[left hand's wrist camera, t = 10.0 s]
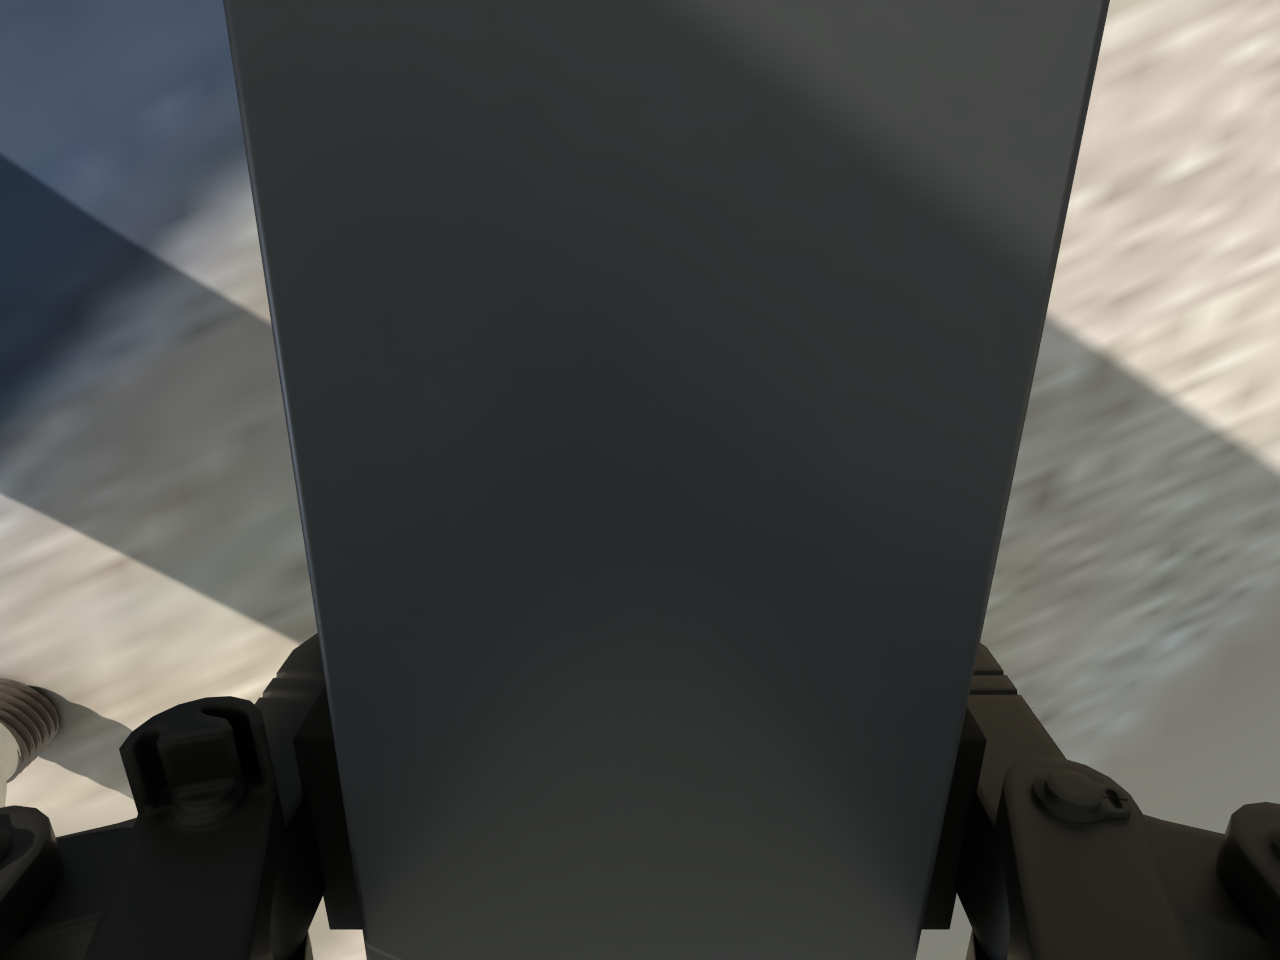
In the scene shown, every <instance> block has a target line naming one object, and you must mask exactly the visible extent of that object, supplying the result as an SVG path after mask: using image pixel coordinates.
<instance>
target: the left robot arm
mask: <svg viewBox="0 0 1280 960" xmlns="http://www.w3.org/2000/svg"><path fill="white" fill-rule="evenodd" d="M119 751H120V754H121V757H122V761H123V764H124V767H125V771H126V774H127V777H128V781H129V784H130V787H131V791H132V794H133V797H134V801H135V804H136V808H137V811H138V816H137V818H134V819H131V820H127V821H124V822H121V823H117V824H113V825H108V826H104V827H100V828H95V829H91V830H87V831H82V832H78V833H74V834H69V835H65V836H61V837H55V834H54V831H53V829H52V826H51V823H50V820H49V818H48V817H47V816H46V815H44V814H43V813H42V812H40V811H39V810H38V809H37V808H31V807H22V806H8V807H2V808H0V960H313V954H312V948H311V942H310V937H309V933H308V929H309V927H310V924H311V922H312V920H313V917H314V915H315V913H316V910H317V908H318V906H319V903H320V901H321V899H322V897H324V902H325V907H326V912H327V917H328V922H329V927H330V929H362V923H361V916H360V909H359V903H358V896H357V889H356V883H355V876H354V869H353V863H352V856H351V849H350V843H349V836H348V829H347V823H346V816H345V809H344V803H343V796H342V789H341V783H340V776H339V769H338V763H337V756H336V749H335V743H334V736H333V729H332V723H331V716H330V709H329V703H328V696H327V690H326V683H325V676H324V670H323V663H322V656H321V650H320V643H319V636H318V633H317V634H315V635H314V636H313V637H311V638H310V639H308V640H307V641H305V642H304V643H303V644H301V645H300V646H298V647H297V648H296V649H294V650H293V651H292V652H291V654H290V655H289V657H288V658H287V660H286V661H285V662H284V664H283V665H282V667H281V668H280V669H279V671H278V672H277V677H276V678H273V679H272V681H271V682H270V683H269V685H268V686H267V688H266V689H265V691H264V692H263V697H262V698H259V699H258V700H257V702H256V703H255V705H254V704H253V703H252V702H251V701H249V700H245V699H240V698H236V697H231V696H226V697H208V698H202V699H198V700H195V701H191V702H187V703H183V704H179V705H177V706H175V707H172V708H170V709H168V710H166V711H164V712H162V713H159V714H157V715H155V716H153V717H152V718H150V719H149V720H148V721H146V722H145V723H143V724H142V725H141V726H139V727H138V728H137V729H135V730H134V731H133V732H132V733H131V734H130V735H129V737H128V738H127V739H126V741H125V742H124V743H123V745H122V746H121V747H120V748H119ZM956 894H958V896H959V898H960V901H961V903H962V905H963V908H964V910H965V912H966V914H967V917H968V919H969V921H970V924H971V926H972V933H971V937H970V942H969V947H968V951H967V956H966V960H1280V804H1275V803H1269V802H1263V803H1255V804H1247V805H1243V806H1242V807H1241V808H1239V809H1238V810H1237V811H1236V812H1234V813H1233V814H1232V815H1231V818H1230V821H1229V824H1228V827H1227V829H1226V832H1225V834H1221V833H1217V832H1212V831H1208V830H1203V829H1199V828H1195V827H1190V826H1186V825H1182V824H1177V823H1173V822H1168V821H1164V820H1160V819H1157V818H1154V817H1150V816H1147V815H1143V814H1142V812H1141V811H1140V809H1139V807H1138V806H1137V804H1136V803H1135V801H1134V800H1133V798H1132V797H1131V795H1130V794H1129V793H1128V792H1126V791H1125V790H1124V789H1123V788H1122V787H1121V786H1119V785H1118V784H1117V783H1116V782H1115V781H1113V780H1112V779H1111V778H1109V777H1108V776H1106V775H1104V774H1102V773H1100V772H1098V771H1096V770H1094V769H1092V768H1090V767H1088V766H1086V765H1084V764H1080V763H1077V762H1073V761H1070V760H1067V759H1066V758H1065V756H1064V755H1063V754H1062V752H1061V751H1060V749H1059V748H1058V747H1057V745H1056V744H1055V742H1054V741H1053V740H1052V738H1051V737H1050V735H1049V734H1048V733H1047V731H1046V730H1045V728H1044V727H1043V726H1042V724H1041V723H1040V721H1039V720H1038V719H1037V717H1036V716H1035V714H1034V713H1033V712H1032V710H1031V709H1030V707H1029V706H1028V705H1027V703H1026V702H1025V700H1024V699H1023V698H1022V696H1021V695H1018V694H1017V689H1016V688H1015V686H1014V685H1013V684H1012V682H1011V681H1010V679H1009V678H1008V677H1007V675H1004V674H1003V670H1002V668H1001V667H1000V665H999V664H998V663H997V661H996V660H995V658H994V657H993V656H992V654H991V653H990V651H989V650H988V649H987V647H985V646H984V645H982V644H981V643H979V648H978V653H977V658H976V663H975V668H974V673H973V678H972V683H971V688H970V693H969V698H968V703H967V707H966V712H965V717H964V722H963V727H962V732H961V737H960V742H959V747H958V752H957V757H956V762H955V767H954V772H953V777H952V782H951V786H950V791H949V796H948V801H947V806H946V811H945V816H944V821H943V826H942V831H941V836H940V841H939V846H938V851H937V856H936V861H935V865H934V870H933V875H932V880H931V885H930V890H929V895H928V900H927V905H926V910H925V915H924V920H923V925H922V929H950V924H951V919H952V914H953V909H954V904H955V899H956Z"/></svg>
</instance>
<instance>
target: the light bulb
mask: <svg viewBox="0 0 1280 960" xmlns="http://www.w3.org/2000/svg"><path fill="white" fill-rule="evenodd" d="M58 729H59V718H58V714H57V712H56V710H55V708H54V707H53V705H52V704H51V703H50V702H49V701H48V700H47V699H46V698H45V697H44V696H43V695H42V694H40V693H39V692H37V691H36V690H35V689H33V688H31V687H29V686H27V685H25V684H22V683H20V682H16V681H13V680H9V679H3V678H0V808H2V807H5V800H6V791H7V784H6V783H8V782H10V781H12V780H13V779H15V777H16V776H17V775H18V774H20V773H21V772H22V771H23V770H24V769H25V768H26V767H27V766H28V765H29V764H30V763H31V762H32V761H33V760H35V759H36V757H37V756H38V755H40V754H41V753H42V752H43V751H44V750H45V749H46V748H47V747H48V746H49V745H50V744H51V743H52V741H53V739H54V737H55V735H56V734H57V732H58Z"/></svg>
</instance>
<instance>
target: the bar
mask: <svg viewBox="0 0 1280 960" xmlns="http://www.w3.org/2000/svg"><path fill="white" fill-rule="evenodd" d="M1109 2H1110V0H223V3H224V10H225V16H226V23H227V30H228V36H229V43H230V50H231V56H232V63H233V70H234V76H235V83H236V90H237V96H238V103H239V110H240V116H241V123H242V130H243V136H244V143H245V150H246V156H247V163H248V170H249V176H250V183H251V190H252V196H253V203H254V210H255V216H256V223H257V230H258V236H259V243H260V250H261V256H262V263H263V270H264V276H265V283H266V290H267V296H268V303H269V310H270V316H271V323H272V330H273V336H274V343H275V350H276V356H277V363H278V370H279V376H280V383H281V390H282V396H283V403H284V410H285V416H286V423H287V430H288V436H289V443H290V450H291V456H292V463H293V470H294V476H295V483H296V490H297V496H298V503H299V510H300V516H301V523H302V530H303V536H304V543H305V550H306V556H307V563H308V570H309V576H310V583H311V590H312V596H313V603H314V610H315V616H316V623H317V630H318V636H319V643H320V650H321V656H322V663H323V670H324V676H325V683H326V690H327V696H328V703H329V709H330V716H331V723H332V729H333V736H334V743H335V749H336V756H337V763H338V769H339V776H340V783H341V789H342V796H343V803H344V809H345V816H346V823H347V829H348V836H349V843H350V849H351V856H352V863H353V869H354V876H355V883H356V889H357V896H358V903H359V909H360V916H361V923H362V929H363V936H364V943H365V949H366V956H367V960H915V959H916V954H917V949H918V944H919V940H920V935H921V930H922V925H923V920H924V915H925V910H926V905H927V900H928V895H929V890H930V885H931V880H932V875H933V870H934V865H935V861H936V856H937V851H938V846H939V841H940V836H941V831H942V826H943V821H944V816H945V811H946V806H947V801H948V796H949V791H950V786H951V782H952V777H953V772H954V767H955V762H956V757H957V752H958V747H959V742H960V737H961V732H962V727H963V722H964V717H965V712H966V707H967V703H968V698H969V693H970V688H971V683H972V678H973V673H974V668H975V663H976V658H977V653H978V648H979V643H980V638H981V633H982V629H983V624H984V619H985V614H986V609H987V604H988V599H989V594H990V589H991V584H992V579H993V574H994V569H995V564H996V559H997V554H998V550H999V545H1000V540H1001V535H1002V530H1003V525H1004V520H1005V515H1006V510H1007V505H1008V500H1009V495H1010V490H1011V485H1012V480H1013V475H1014V471H1015V466H1016V461H1017V456H1018V451H1019V446H1020V441H1021V436H1022V431H1023V426H1024V421H1025V416H1026V411H1027V406H1028V401H1029V396H1030V392H1031V387H1032V382H1033V377H1034V372H1035V367H1036V362H1037V357H1038V352H1039V347H1040V342H1041V337H1042V332H1043V327H1044V322H1045V317H1046V313H1047V308H1048V303H1049V298H1050V293H1051V288H1052V283H1053V278H1054V273H1055V268H1056V263H1057V258H1058V253H1059V248H1060V243H1061V238H1062V234H1063V229H1064V224H1065V219H1066V214H1067V209H1068V204H1069V199H1070V194H1071V189H1072V184H1073V179H1074V174H1075V169H1076V164H1077V159H1078V155H1079V150H1080V145H1081V140H1082V135H1083V130H1084V125H1085V120H1086V115H1087V110H1088V105H1089V100H1090V95H1091V90H1092V85H1093V81H1094V76H1095V71H1096V66H1097V61H1098V56H1099V51H1100V46H1101V41H1102V36H1103V31H1104V26H1105V21H1106V16H1107V11H1108V6H1109Z"/></svg>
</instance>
